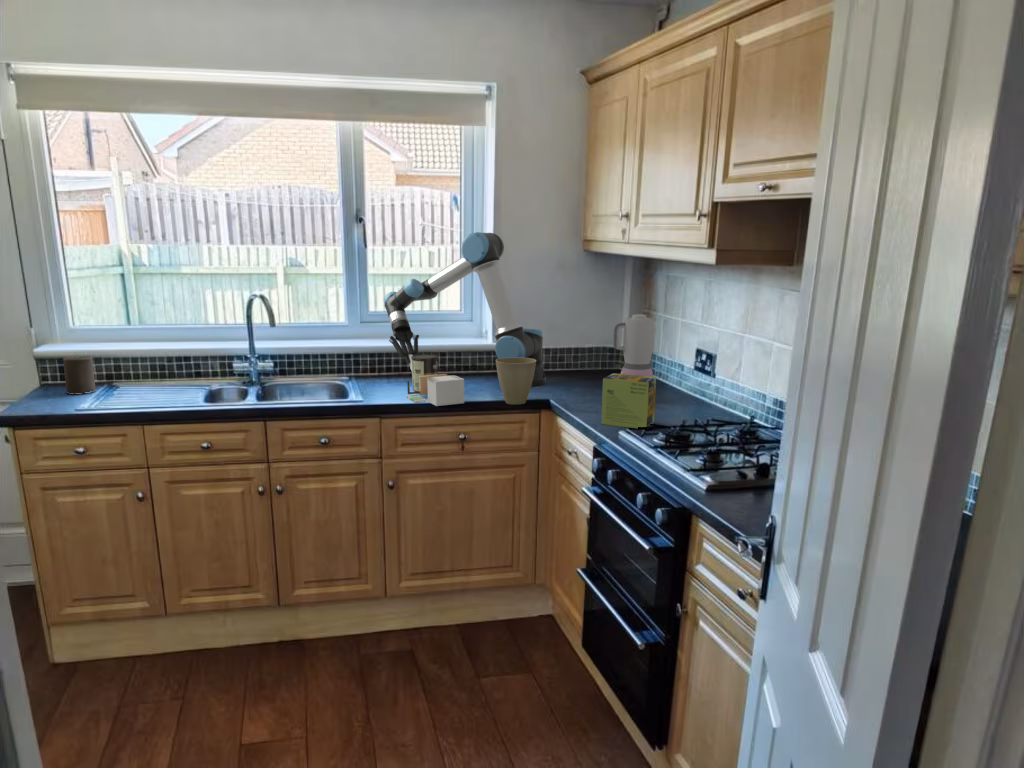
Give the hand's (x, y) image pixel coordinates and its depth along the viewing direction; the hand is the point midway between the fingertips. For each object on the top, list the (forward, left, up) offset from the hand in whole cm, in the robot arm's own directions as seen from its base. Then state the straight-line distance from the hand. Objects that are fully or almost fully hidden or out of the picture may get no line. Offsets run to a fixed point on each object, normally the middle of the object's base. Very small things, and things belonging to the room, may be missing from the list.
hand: (413, 369), depth 284 cm
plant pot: (-23, +44, -7) cm, 51 cm away
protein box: (-42, +87, -7) cm, 97 cm away
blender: (-65, +59, -7) cm, 89 cm away
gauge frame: (+2, +28, -7) cm, 29 cm away
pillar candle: (+120, -46, -7) cm, 128 cm away
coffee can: (0, +11, -7) cm, 14 cm away
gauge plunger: (+2, +23, -6) cm, 24 cm away
